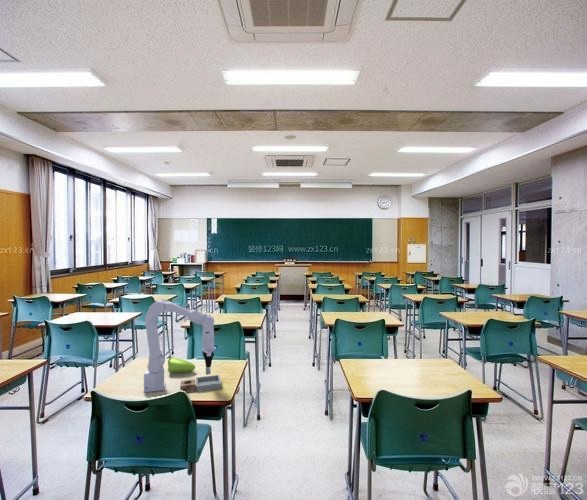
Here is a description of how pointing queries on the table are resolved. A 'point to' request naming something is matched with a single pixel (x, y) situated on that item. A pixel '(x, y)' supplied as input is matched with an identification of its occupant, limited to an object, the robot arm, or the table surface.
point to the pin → (208, 370)
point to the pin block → (187, 385)
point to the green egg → (179, 366)
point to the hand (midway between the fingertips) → (208, 366)
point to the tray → (208, 383)
